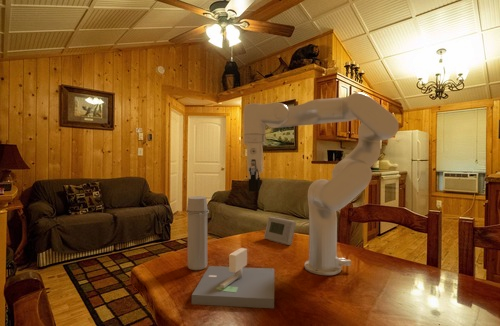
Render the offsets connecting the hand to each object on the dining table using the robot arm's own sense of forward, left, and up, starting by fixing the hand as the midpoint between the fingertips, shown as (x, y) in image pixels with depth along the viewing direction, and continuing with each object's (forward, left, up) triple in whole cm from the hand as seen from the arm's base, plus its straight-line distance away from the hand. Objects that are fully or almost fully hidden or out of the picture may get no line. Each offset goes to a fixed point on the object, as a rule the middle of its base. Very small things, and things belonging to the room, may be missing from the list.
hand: (254, 189), depth 96 cm
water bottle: (+20, 0, -28) cm, 35 cm away
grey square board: (+4, +14, -28) cm, 32 cm away
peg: (+5, +14, -26) cm, 30 cm away
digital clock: (-9, -35, -29) cm, 46 cm away
